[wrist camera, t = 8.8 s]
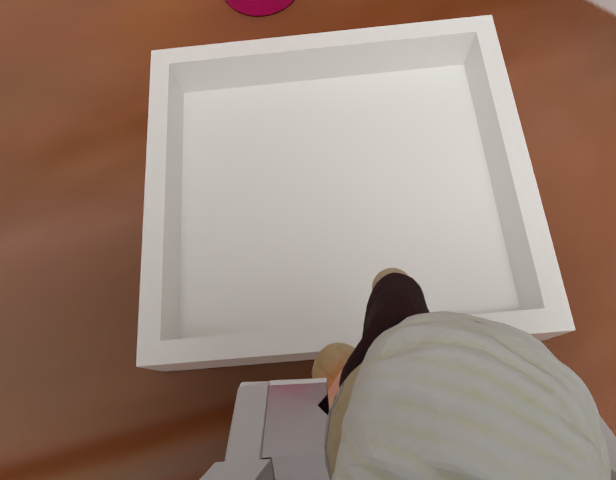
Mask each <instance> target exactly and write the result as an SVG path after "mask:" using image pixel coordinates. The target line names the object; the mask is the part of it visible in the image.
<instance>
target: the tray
mask: <svg viewBox="0 0 616 480" xmlns="http://www.w3.org/2000/svg"><path fill="white" fill-rule="evenodd" d="M387 268H397V269H400V270H402V271H404V272H405V273H407V275H408V276H410V277H412V278H413V279H414V280H415V281H416V282H417V283H418V284H419V285H420V287H421V289H422V291H423V294H424V298H425V301H426V305H427V308H428V310H429V312H439V311H449V312H456V313H463V314H468V315H472V316H476V317H481V318H485V319H488V320H491V321H496V322H500V323H505V324H507V325H510V326H512V327H515V328H517V329H520V330H522V331H525V332H527V333H529V334H531V335H532V336H534V337H535V338H537V339H538V340H540V341H543V340H546V339H549V338H552V337H556V336H559V335H562V334H565V333H568V332H572V331H575V326H574V322H573V318H572V315H571V311H570V307H569V303H568V300H567V296H566V292H565V288H564V285H563V281H562V277H561V273H560V270H559V266H558V262H557V258H556V255H555V251H554V247H553V243H552V240H551V236H550V232H549V228H548V224H547V221H546V217H545V213H544V209H543V206H542V202H541V198H540V194H539V191H538V187H537V183H536V179H535V176H534V172H533V168H532V164H531V161H530V157H529V153H528V149H527V146H526V142H525V138H524V134H523V131H522V127H521V123H520V119H519V116H518V112H517V108H516V104H515V101H514V97H513V93H512V89H511V86H510V82H509V78H508V74H507V70H506V67H505V63H504V59H503V55H502V52H501V48H500V44H499V40H498V37H497V33H496V29H495V25H494V22H493V18H492V15H485V16H476V17H466V18H457V19H447V20H437V21H428V22H418V23H409V24H399V25H390V26H380V27H371V28H361V29H352V30H342V31H333V32H323V33H314V34H304V35H295V36H285V37H275V38H266V39H256V40H247V41H237V42H228V43H218V44H209V45H199V46H190V47H180V48H171V49H161V50H152V51H151V69H150V90H149V111H148V131H147V152H146V173H145V193H144V214H143V234H142V255H141V276H140V296H139V317H138V337H137V358H136V367H141V368H146V369H151V370H157V371H162V372H168V371H180V370H192V369H204V368H216V367H229V366H241V365H253V364H265V363H277V362H289V361H302V360H314V359H315V358H316V356H317V355H318V353H319V352H320V351H321V350H322V349H323V348H324V347H325V346H327V345H329V344H332V343H338V342H339V343H345V344H348V345H350V346H352V347H354V348H356V346H357V345H358V343H359V342H360V340H361V339H362V333H363V325H364V319H365V313H366V307H367V303H368V300H369V297H370V295H371V292H372V283H373V280H374V278H375V277H376V275H377V274H378V273H379V272H380V271H382V270H384V269H387Z"/></svg>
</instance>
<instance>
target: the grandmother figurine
mask: <svg viewBox="0 0 616 480" xmlns="http://www.w3.org/2000/svg"><path fill="white" fill-rule="evenodd" d="M315 378H327V388H328V399H329V413H328V418H327V422H326V427H325V442H324V453H325V464H326V467H327V471H328V475H329V479H330V480H611V468H610V459H609V454H608V449H607V444H606V440H605V438H604V436H603V433H602V431H601V429H600V418H599V412H598V409H597V406H596V404H595V402H594V400H593V398H592V396H591V394H590V392H589V390H588V388H587V387H586V385H585V384H584V382H583V381H582V380H581V378H580V377H579V376H578V375H576V374H575V373H574V372H573V371H572V370H571V369H570V368H569V367H567V366H566V365H564V364H563V363H562V362H560V361H559V360H558V359H557V358H556V357H555V356H554V355H553V354H552V353H551V352H550V351H549V350H548V348H547V347H546V346H545V345H544V344H543V343H542V342H541V341H540V340H538V339H537V338H535V337H534V336H532V335H531V334H529V333H527V332H525V331H522V330H520V329H517V328H515V327H512V326H510V325H507V324H505V323H500V322H496V321H491V320H488V319H485V318H481V317H476V316H472V315H468V314H463V313H456V312H449V311H439V312H429V310H428V308H427V305H426V301H425V298H424V294H423V291H422V289H421V287H420V285H419V284H418V283H417V282H416V281H415V280H414V279H413V278H412V277H410V276H408V275H407V273H405V272H404V271H402V270H400V269H397V268H387V269H384V270H382V271H380V272H379V273H378V274H377V275H376V277H375V278H374V280H373V283H372V292H371V295H370V297H369V300H368V303H367V307H366V313H365V319H364V325H363V333H362V339H361V340H360V342H359V343H358V345H357V346H356V348H354V347H352V346H350V345H348V344H345V343H339V342H338V343H332V344H329V345H327V346H325V347H324V348H323V349H322V350H321V351H320V352H319V353H318V355H317V356H316V358H315V361H314V364H313V368H312V379H315Z"/></svg>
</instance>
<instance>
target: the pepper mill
mask: <svg viewBox="0 0 616 480" xmlns="http://www.w3.org/2000/svg"><path fill="white" fill-rule="evenodd" d="M293 1H294V0H226V2H227V3H228V4H229V5H230V6H231V7H232V8H233V9H235V10H236V11H238V12H240V13H243V14H246V15H251V16H266V15H271V14H274V13H277V12H279V11H281V10H283V9H285V8H286V7H287V6H288V5H290V4H291V3H292V2H293Z"/></svg>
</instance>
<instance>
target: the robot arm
mask: <svg viewBox="0 0 616 480" xmlns="http://www.w3.org/2000/svg"><path fill="white" fill-rule="evenodd" d="M328 413H329V399H328V388H327V378H315V379H292V380H270V381H259V382H241V384H240V386H239V388H238V391H237V396H236V402H235V407H234V412H233V418H232V423H231V428H230V434H229V439H228V445H227V450H226V455H225V461H224V462H215V463H214V464H213V465H212V466H211V467H210V468H209V470H208V471H207V472H206V473H205V474H204V475H203V476H202V477H201V478H200V479H199V480H330V479H329V475H328V471H327V467H326V464H325V453H324V442H325V427H326V422H327V418H328ZM599 418H600V429H601V431H602V433H603V436H604V438H605V440H606V444H607V449H608V454H609V459H610V468H611V480H616V436H615V435H614V434H613V432H612V431H611V430H610V428H609V427H608V426H607V424H606V423H605V422H604V420H603V419H602V418H601V416H600V415H599Z"/></svg>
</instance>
